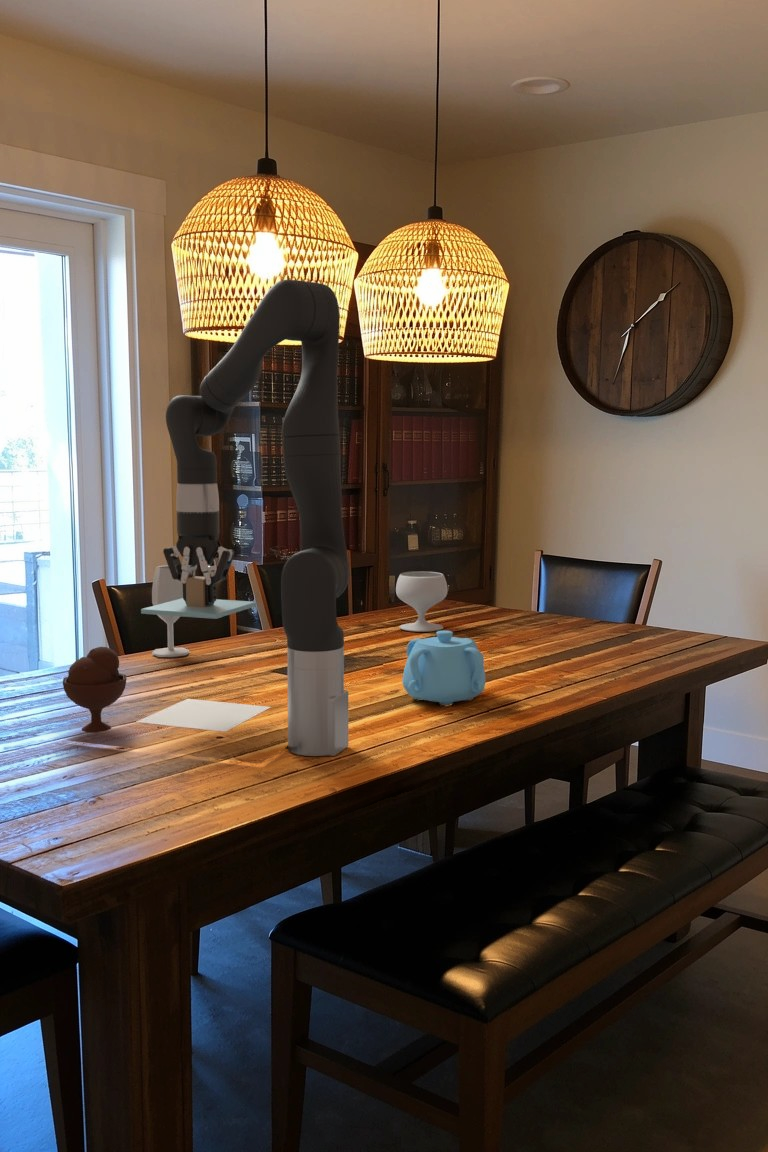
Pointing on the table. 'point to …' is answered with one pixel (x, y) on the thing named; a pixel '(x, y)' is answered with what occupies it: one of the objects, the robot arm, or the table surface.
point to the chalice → (421, 596)
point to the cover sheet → (199, 611)
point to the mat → (204, 715)
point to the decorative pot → (444, 669)
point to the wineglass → (162, 593)
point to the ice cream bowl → (95, 684)
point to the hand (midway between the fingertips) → (199, 603)
